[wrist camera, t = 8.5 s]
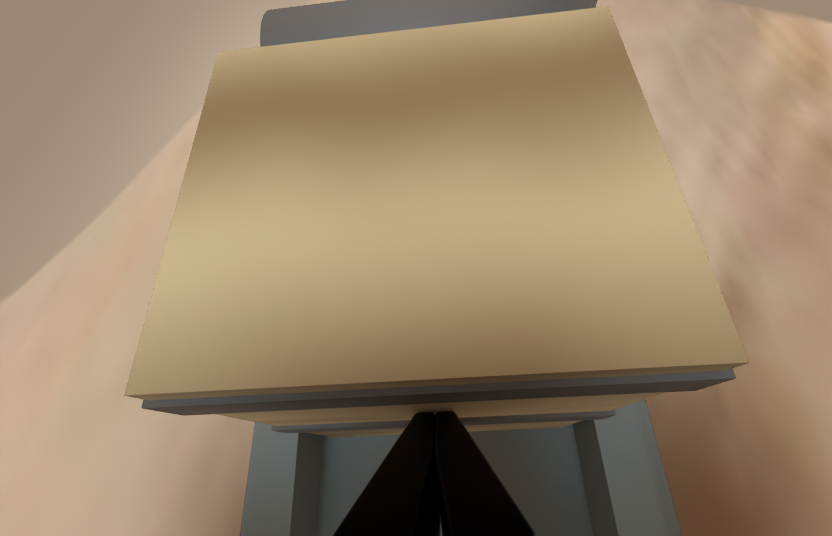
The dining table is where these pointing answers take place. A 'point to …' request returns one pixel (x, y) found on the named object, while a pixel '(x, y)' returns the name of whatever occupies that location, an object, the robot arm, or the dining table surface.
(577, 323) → the crate
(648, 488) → the bay
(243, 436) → the dining table surface
